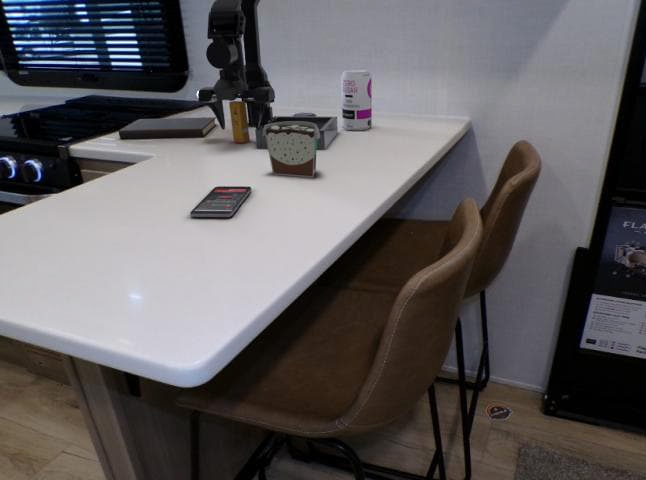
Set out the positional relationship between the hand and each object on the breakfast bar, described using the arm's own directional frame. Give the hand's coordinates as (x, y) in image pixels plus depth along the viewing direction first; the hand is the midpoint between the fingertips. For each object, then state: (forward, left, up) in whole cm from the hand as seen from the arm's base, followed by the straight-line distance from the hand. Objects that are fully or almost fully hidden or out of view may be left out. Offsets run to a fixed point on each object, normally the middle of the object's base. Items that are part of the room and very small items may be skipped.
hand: (240, 129), depth 136 cm
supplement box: (0, 0, -3) cm, 3 cm away
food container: (+22, -26, -3) cm, 34 cm away
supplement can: (+28, +18, -3) cm, 33 cm away
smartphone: (+13, -47, -3) cm, 49 cm away
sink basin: (+15, +2, -3) cm, 15 cm away
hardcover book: (-25, +10, -3) cm, 27 cm away
